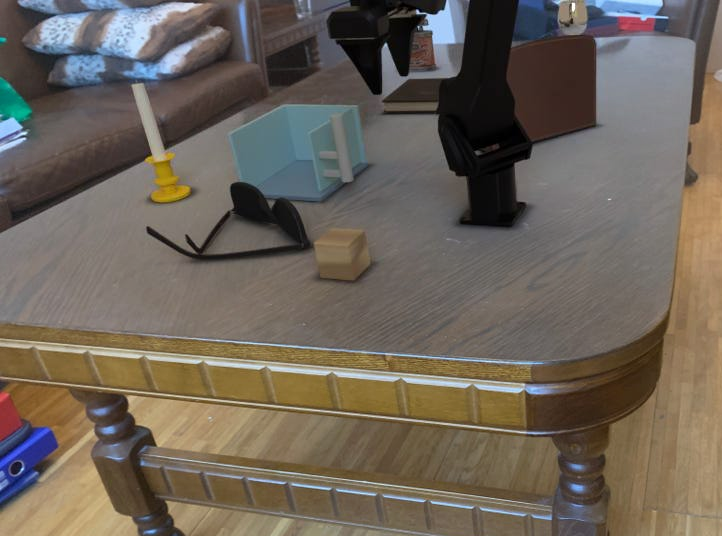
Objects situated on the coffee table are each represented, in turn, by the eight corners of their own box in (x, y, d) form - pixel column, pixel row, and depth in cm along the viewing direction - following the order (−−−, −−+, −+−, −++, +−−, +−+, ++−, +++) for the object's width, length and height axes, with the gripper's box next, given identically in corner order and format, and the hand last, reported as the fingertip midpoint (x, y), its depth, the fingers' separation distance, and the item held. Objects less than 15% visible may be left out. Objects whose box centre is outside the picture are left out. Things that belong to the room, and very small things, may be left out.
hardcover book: (512, 112, 128) (511, 98, 127) (383, 113, 133) (381, 100, 132) (528, 88, 141) (528, 75, 140) (410, 90, 146) (409, 78, 145)
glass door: (349, 193, 98) (336, 118, 93) (318, 191, 100) (304, 118, 95) (386, 163, 107) (376, 94, 102) (358, 162, 109) (347, 93, 104)
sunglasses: (138, 250, 90) (124, 210, 87) (246, 212, 98) (236, 174, 95) (205, 291, 79) (192, 247, 77) (320, 244, 88) (311, 203, 85)
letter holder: (597, 125, 118) (598, 28, 111) (492, 156, 110) (485, 52, 102) (557, 113, 125) (555, 21, 118) (455, 141, 117) (446, 43, 109)
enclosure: (321, 201, 99) (308, 136, 95) (243, 197, 103) (226, 133, 98) (368, 165, 110) (358, 105, 106) (296, 162, 114) (283, 104, 109)
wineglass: (553, 66, 154) (551, 2, 148) (577, 62, 156) (577, -2, 150) (567, 71, 150) (567, 5, 143) (592, 66, 152) (593, 1, 145)
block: (354, 281, 79) (347, 245, 77) (320, 278, 80) (313, 243, 78) (371, 264, 82) (365, 229, 80) (338, 261, 83) (331, 227, 81)
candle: (151, 193, 107) (114, 78, 99) (190, 186, 108) (157, 72, 100) (152, 205, 103) (113, 86, 94) (192, 197, 104) (157, 79, 96)
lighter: (397, 71, 161) (391, 20, 156) (403, 67, 164) (397, 17, 159) (433, 71, 159) (427, 19, 154) (438, 67, 162) (433, 16, 156)
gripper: (409, -49, 79) (426, 105, 87) (462, -66, 93) (472, 67, 102) (312, -44, 82) (338, 105, 90) (379, -61, 96) (395, 68, 105)
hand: (391, 85), depth 97 cm, fingers open, 9 cm apart
